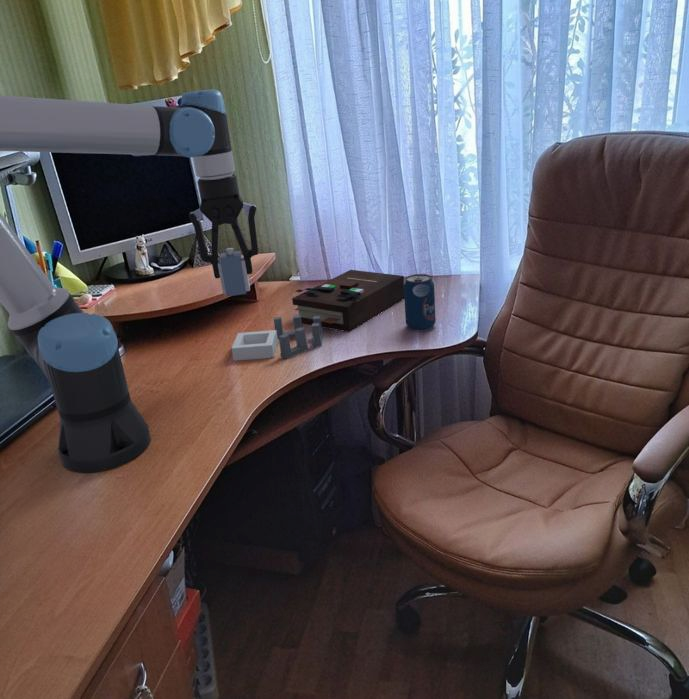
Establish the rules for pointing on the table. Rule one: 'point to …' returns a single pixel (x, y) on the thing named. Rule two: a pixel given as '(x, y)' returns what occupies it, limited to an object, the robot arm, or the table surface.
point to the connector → (232, 272)
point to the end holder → (255, 345)
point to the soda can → (419, 302)
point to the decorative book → (349, 299)
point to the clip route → (297, 336)
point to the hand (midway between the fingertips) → (236, 290)
